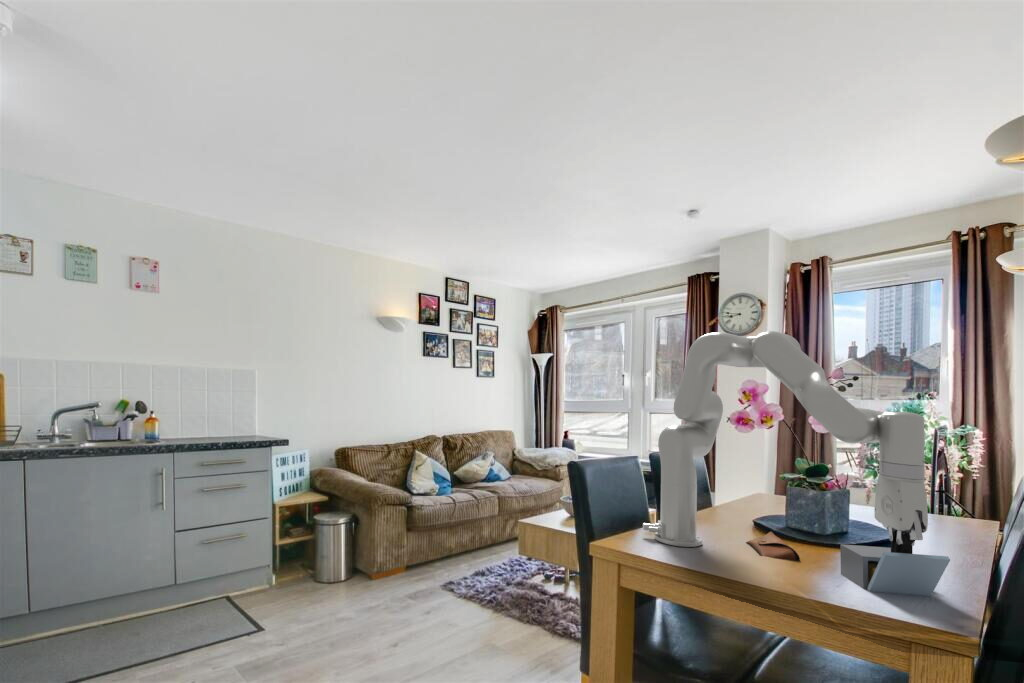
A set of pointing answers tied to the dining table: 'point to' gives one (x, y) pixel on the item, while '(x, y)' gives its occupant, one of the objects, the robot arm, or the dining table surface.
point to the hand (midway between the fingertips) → (901, 563)
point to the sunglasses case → (773, 547)
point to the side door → (908, 573)
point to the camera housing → (860, 562)
